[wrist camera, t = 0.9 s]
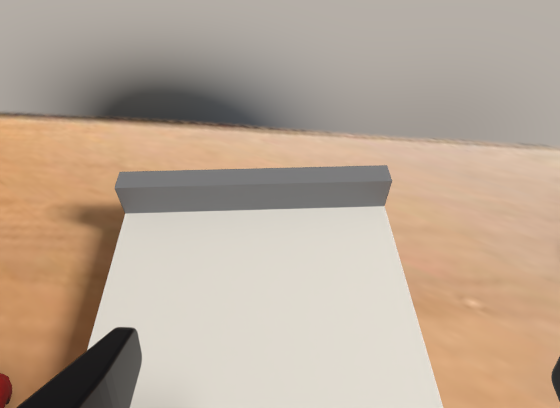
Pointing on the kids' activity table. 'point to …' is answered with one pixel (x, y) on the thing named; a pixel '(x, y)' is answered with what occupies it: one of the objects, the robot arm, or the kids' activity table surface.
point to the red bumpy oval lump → (5, 390)
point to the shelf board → (265, 291)
